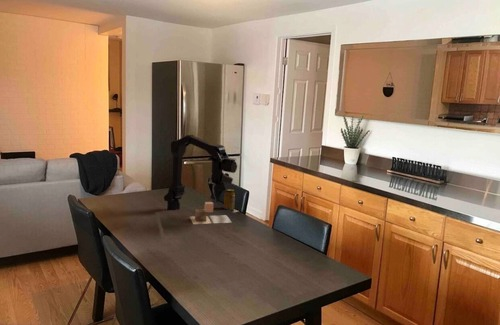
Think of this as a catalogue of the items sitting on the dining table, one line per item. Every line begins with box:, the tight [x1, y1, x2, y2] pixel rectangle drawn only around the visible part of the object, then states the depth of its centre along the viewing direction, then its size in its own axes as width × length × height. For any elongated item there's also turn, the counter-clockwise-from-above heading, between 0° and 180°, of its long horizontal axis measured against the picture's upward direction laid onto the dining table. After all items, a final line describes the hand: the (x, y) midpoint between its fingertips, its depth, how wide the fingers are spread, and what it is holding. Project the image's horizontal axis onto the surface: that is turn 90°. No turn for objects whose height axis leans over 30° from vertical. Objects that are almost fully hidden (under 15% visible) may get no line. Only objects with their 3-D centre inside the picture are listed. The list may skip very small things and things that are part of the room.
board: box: [189, 214, 233, 225], centre depth 205 cm, size 20×12×1 cm, turn 108°
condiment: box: [223, 188, 239, 213], centre depth 225 cm, size 7×8×12 cm
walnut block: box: [194, 208, 208, 222], centre depth 203 cm, size 5×5×5 cm
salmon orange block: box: [204, 201, 214, 213], centre depth 218 cm, size 4×4×6 cm
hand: (215, 199), depth 204 cm, fingers open, 9 cm apart
